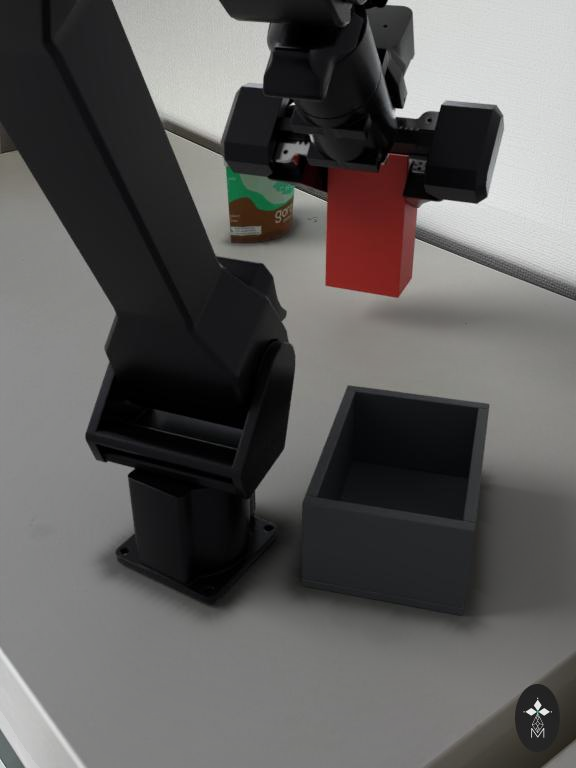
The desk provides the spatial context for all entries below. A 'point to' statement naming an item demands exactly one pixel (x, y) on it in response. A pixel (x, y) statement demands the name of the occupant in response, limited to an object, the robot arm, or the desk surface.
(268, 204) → the food container
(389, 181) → the block
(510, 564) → the desk surface
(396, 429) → the bin
